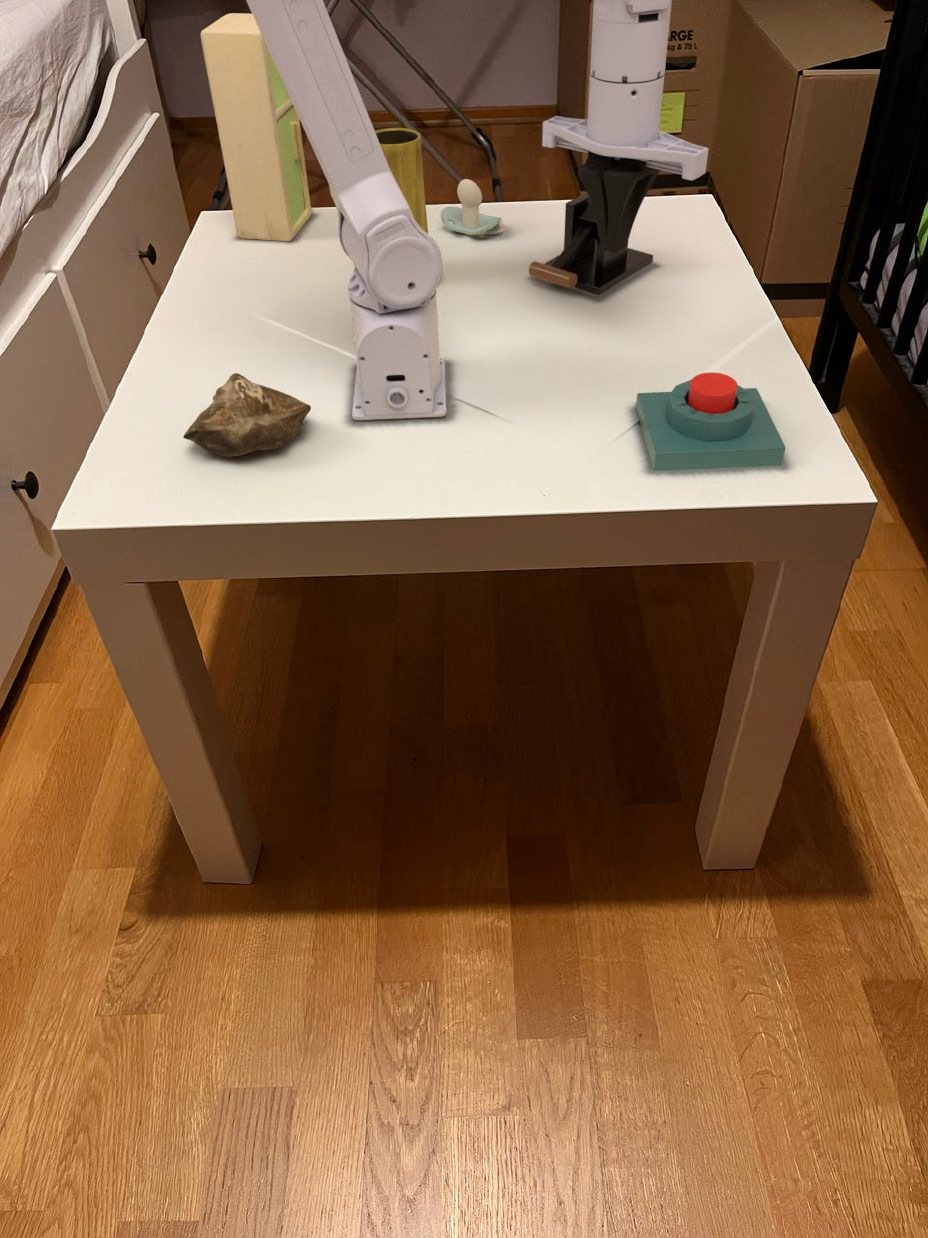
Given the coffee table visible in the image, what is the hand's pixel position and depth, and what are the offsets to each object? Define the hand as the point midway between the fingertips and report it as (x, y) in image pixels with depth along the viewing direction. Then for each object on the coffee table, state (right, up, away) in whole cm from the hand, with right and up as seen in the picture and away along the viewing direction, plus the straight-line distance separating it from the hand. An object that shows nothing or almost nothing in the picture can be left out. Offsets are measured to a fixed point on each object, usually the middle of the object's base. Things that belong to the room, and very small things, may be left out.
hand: (614, 247), depth 84 cm
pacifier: (-12, +12, +27) cm, 32 cm away
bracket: (+1, +4, +18) cm, 19 cm away
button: (+7, -15, -7) cm, 18 cm away
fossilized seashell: (-30, -18, -4) cm, 35 cm away
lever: (-1, +5, +15) cm, 15 cm away
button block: (+7, -17, -5) cm, 19 cm away
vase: (-19, +3, +18) cm, 27 cm away
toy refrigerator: (-35, +14, +30) cm, 48 cm away
